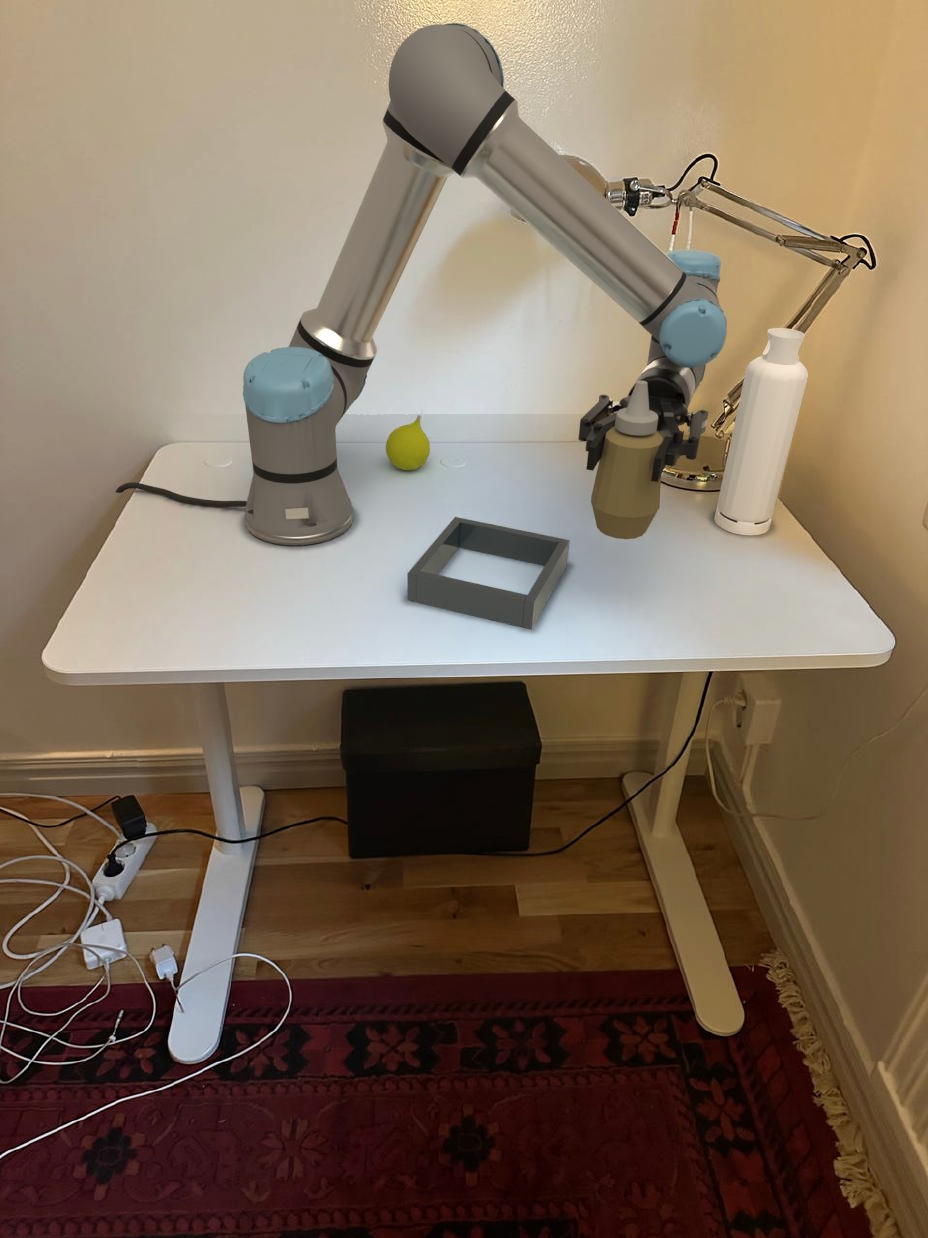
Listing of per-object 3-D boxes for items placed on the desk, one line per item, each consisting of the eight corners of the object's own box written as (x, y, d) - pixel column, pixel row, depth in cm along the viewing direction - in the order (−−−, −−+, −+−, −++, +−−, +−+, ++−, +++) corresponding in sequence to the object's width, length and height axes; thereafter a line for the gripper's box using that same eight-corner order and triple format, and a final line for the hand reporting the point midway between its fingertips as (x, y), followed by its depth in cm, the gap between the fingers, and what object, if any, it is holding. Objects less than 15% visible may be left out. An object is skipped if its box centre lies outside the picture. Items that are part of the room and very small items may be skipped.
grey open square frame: (407, 600, 111) (407, 573, 109) (454, 541, 124) (455, 516, 122) (531, 629, 107) (534, 601, 104) (567, 565, 119) (569, 539, 117)
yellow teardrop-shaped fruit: (438, 468, 144) (439, 410, 138) (406, 481, 140) (406, 421, 134) (409, 455, 148) (408, 397, 142) (377, 467, 144) (375, 408, 138)
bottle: (772, 538, 128) (822, 344, 112) (715, 531, 129) (756, 339, 113) (767, 513, 134) (814, 327, 118) (713, 507, 135) (752, 321, 120)
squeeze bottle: (573, 528, 105) (589, 381, 95) (612, 507, 110) (631, 365, 100) (630, 552, 101) (653, 401, 91) (668, 529, 106) (693, 382, 96)
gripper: (732, 435, 113) (707, 511, 95) (584, 412, 118) (535, 480, 101) (744, 378, 109) (720, 446, 91) (590, 357, 114) (540, 417, 96)
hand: (623, 464), depth 96 cm, fingers closed on squeeze bottle, 6 cm apart
